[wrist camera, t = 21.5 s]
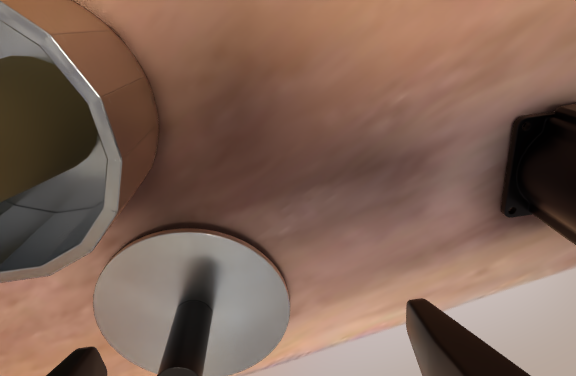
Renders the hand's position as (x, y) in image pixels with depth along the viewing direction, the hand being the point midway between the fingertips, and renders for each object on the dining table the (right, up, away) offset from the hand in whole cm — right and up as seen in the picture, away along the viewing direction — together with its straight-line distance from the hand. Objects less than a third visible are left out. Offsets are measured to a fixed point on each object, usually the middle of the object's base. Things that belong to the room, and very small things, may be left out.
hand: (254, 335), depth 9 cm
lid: (-5, -5, +15) cm, 17 cm away
